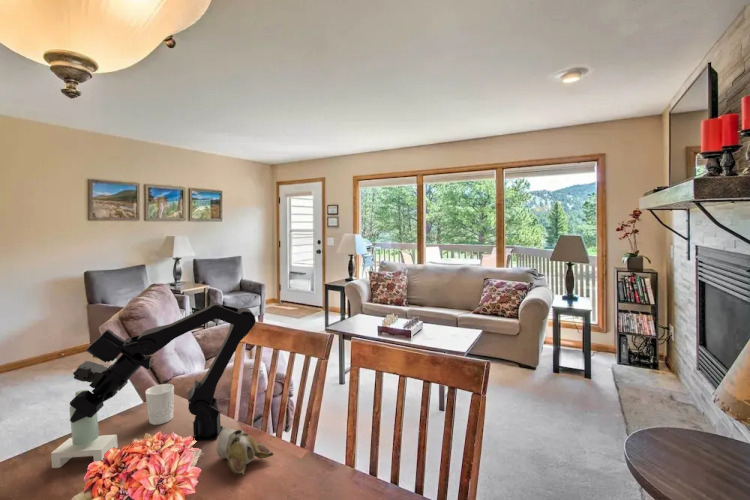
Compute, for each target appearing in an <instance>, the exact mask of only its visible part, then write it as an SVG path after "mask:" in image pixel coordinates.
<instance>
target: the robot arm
mask: <svg viewBox="0 0 750 500" xmlns="http://www.w3.org/2000/svg"><path fill="white" fill-rule="evenodd" d="M213 320H219V321H223V322H225V323H228V324H229V328H228V333H227V335H226V337H225V339H224V340H223V343H222V344H221V346H220V348H219V349H218V351H217V353H216V355H215V357H214V359H213V360H212V363H211V365H210V366H209V368H208V370H207V372H206V374H205V375H204V377H202V379H201V380H200V381H198V380H194V381H193V385H192V387H191V389H190V390H188V393H187V395H188V396H187V402H188V410H189V413H191V415H194V420H193V422H192V428H193V436H194V437H193V439H194V438H195V440H197V441H211V440H212V441H213V440H217V439H218V438H219V437H220V434H221V431H222V428H223V427H224V426H223V425H221V410H219V405H218V404H219V403H218V400H217V398H215V397H214V396H215V393H216V388H217V386H218V383H219V381H220V380H221V378H222V376H223V374H224V372H225V370H226V368H227V367H228V365H229V363H230V361H231V360H232V359H231V358H233V356H234V353H235V352H236V350H237V348H238V346H239V344H240V343H241V341H242V340H244V338H245V337H246V336H247V335H248V334H249V333H250V331H251V330H252V329H253V327H255V324H256V321H257V320H256V316H255V315H254V313H253V312H252V310H251V309H249V308H247V307H240V308H238V307H234V306H229V305H224V304H221V303H219V302H213V303H211V304H210V305H208V306H207V307H204V308H202V309H200V310H197V311H195V312H193V313H191V314H189V315H187V316H185V317H183V318H182V317H181V318H180V319H178V320H176V321H173V322H172V323H168V324H166V325H160V326H156V327H152V328H149V329H145V330H143V331H142V332H141V333H140V334H138V335H134V336H131V337H127V338H125V339H123V338H122V337H120V336H118V335H117V334H116V333H114V332H113V331H112V330H111V329H109V328H108V329H106V330H105V331H104V332H103V333H102V334H101V335H100V336H97V338H96V339H95V340H94V341H93V342H92V343H91V344H90V345H89V346H88V347H87V348H86V349H85V350H84V351H85V352H87V353H89V354H90V355H92V356H94V358H97V359H99V360H100V361H102V362H104V363H111V362H113V361H114V362H113V363H112V364H111V365H109V366H105V365H103V364H101V363H96V362H94V361H91V360H90V361H88V360H85V361H84V362H83V363H81V364H79V365H78V367H77V368H76V369H75V370H74V371H73V373H72V374H73V375H74V376H73V379H74V380H76V381H80V382H82V383H85V382H87V383H89V385H88V386H89V387H91V389H92V390H89V389H88V391H82V392H81V393H80V394H78V395H77V396H74V397H73V398H72V399H71V401H69V406H72V407H73V408H75V409H76V410H75V412H74V413H73V415H72V417H71V419H70V418H69V421H70V423H71V422H72V423H74V422H76V421H78V420H80V419H83V418H85V417H88V418H92V417H93V416H94V415H95V414H96V413H97V414H98V412H99V411H100V410H101V409H102V408H103V407H104V402H106V401H108V400H110V399H111V398H113V397H114V396H115V395H117V394H118V392H120V391H121V390H122V389H123V388H124V387H125V386H126V385H127V384H128V383H129V380H130V379H131V377H132V376H133V375H134V374H136V372H137V371H138V370H140V368H141V367H143V368H144V369H146V370H150V369H151V366H152V364H153V361H152V360H153V359H152V358H153V356H152V355H154V354H156V353H157V352H159V351H160V350H162V349H163V348H164V347H167V345H168V344H169V343H171V342H172V341H173V340H175V339H176V338H178V337H181V336H182V335H185V334H186V333H189V332H191V331H193V330H195V329H197V328H199V327H201V326H203V325H205V324H207V323H209V322H212V321H213ZM120 354H121V355H120ZM119 355H120V356H119ZM118 356H119V358H117V357H118ZM115 359H116V361H115ZM197 441H196V442H197Z"/></svg>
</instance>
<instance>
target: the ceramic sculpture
mask: <svg viewBox="0 0 750 500" xmlns="http://www.w3.org/2000/svg"><path fill="white" fill-rule="evenodd" d="M216 454H217V456H218V457H219V458H220V459H227V465H228V467H229V469H230V470H231V472H232V473H233V474H235V475H238V476H244V475H245V472H246V469H247V465H248V464H249V463H251V462H252V461H253V460H254V458H255V457H257V458H258V459H260V460H261V459H267V458H269V457H270V458H271V457H273V456H274V454H275V453H273V452H271V451H270V450H269V448H267V446H266V445H265V444H263V443H262V442H260V441H259V442H258V441H257V442H256V440H255V438H254V437H253V436H251V435H250V434H248V433H246V432H244V431H243V430H242V429H237V430H235V429H234V428H228V427H227V428H226V427H225V426H223V428H222V430H221V432H220V434H219V436H218V442H217V446H216Z"/></svg>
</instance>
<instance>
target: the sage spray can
mask: <svg viewBox="0 0 750 500" xmlns="http://www.w3.org/2000/svg"><path fill="white" fill-rule="evenodd" d="M88 390H89V389H80V390H78V391H76V392H75V396H74V397H76V396H77V395H78V394H80V393H81V392H82V391H88ZM75 410H76V409H75V408H73V407H72V406H71V405H69V416H70V418H69V420H70V419H71V417H72V415H73V413H74V412H75ZM70 430H71V438H72V444H73V445H83V444H87V443H89V442H92V441H94V440H95V439H97V438H98V437H99V436H100V432H99V419H98V412H97V413H96V414H95V415H94V416H93V417H92V418H88V417H85V418H83V419H80V420H78V421H76V422H74V423H72V422H71V421H70Z"/></svg>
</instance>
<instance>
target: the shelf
mask: <svg viewBox="0 0 750 500" xmlns="http://www.w3.org/2000/svg"><path fill="white" fill-rule="evenodd" d="M118 446H119V445H118V434H105V435H104V434H103V435H99V437H98V438H97V439H95V440H94V441H92V442H89V443H87V444H83V445H73V444H72V437H69V438H68V439H67V440H65V441H64V442H63V443H61V444H60V445H59V446H58V447H57V448H55V449H54V450H53V451H52V452H50V458H51V460H50V461H51V468H52V469H59V468H61V467H63V466H64V465H65V464H66V463H67V462H68V461H70V459H72V458H79V457H80V458H83V457H93V462H94V461H101V460H103V458H104V454H105V453H106V452H107V451H108V450H109V449H110V448H113V447H115V448H118V449H119V447H118Z"/></svg>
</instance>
